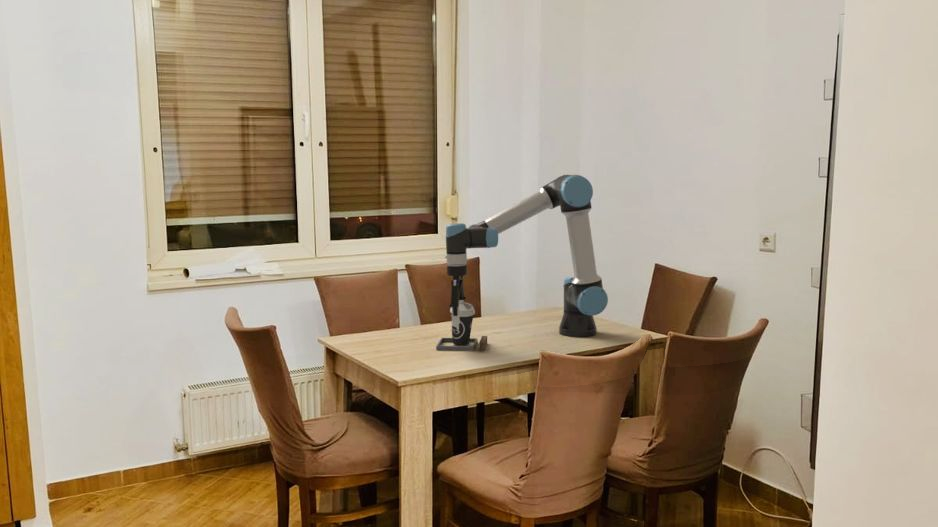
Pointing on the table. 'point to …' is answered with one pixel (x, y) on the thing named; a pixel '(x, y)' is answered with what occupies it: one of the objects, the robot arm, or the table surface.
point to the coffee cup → (463, 324)
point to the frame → (464, 348)
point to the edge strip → (483, 343)
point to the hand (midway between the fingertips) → (458, 320)
